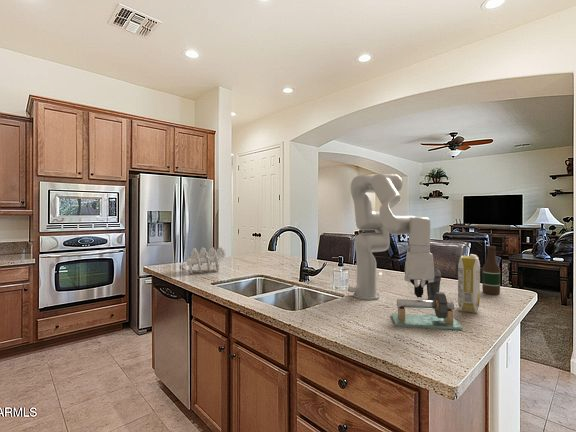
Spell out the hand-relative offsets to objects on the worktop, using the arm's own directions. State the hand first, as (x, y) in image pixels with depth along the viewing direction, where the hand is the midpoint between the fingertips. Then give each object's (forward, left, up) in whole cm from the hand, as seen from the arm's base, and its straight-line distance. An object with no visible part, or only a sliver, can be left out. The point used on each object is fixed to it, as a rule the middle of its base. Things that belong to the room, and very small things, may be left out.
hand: (418, 296), depth 124 cm
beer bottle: (+45, +50, -10) cm, 68 cm away
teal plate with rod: (+2, 0, -10) cm, 10 cm away
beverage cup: (+13, +33, -10) cm, 37 cm away
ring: (+8, 0, -7) cm, 11 cm away
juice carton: (+24, +19, -10) cm, 32 cm away
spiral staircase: (-125, +78, -10) cm, 147 cm away
